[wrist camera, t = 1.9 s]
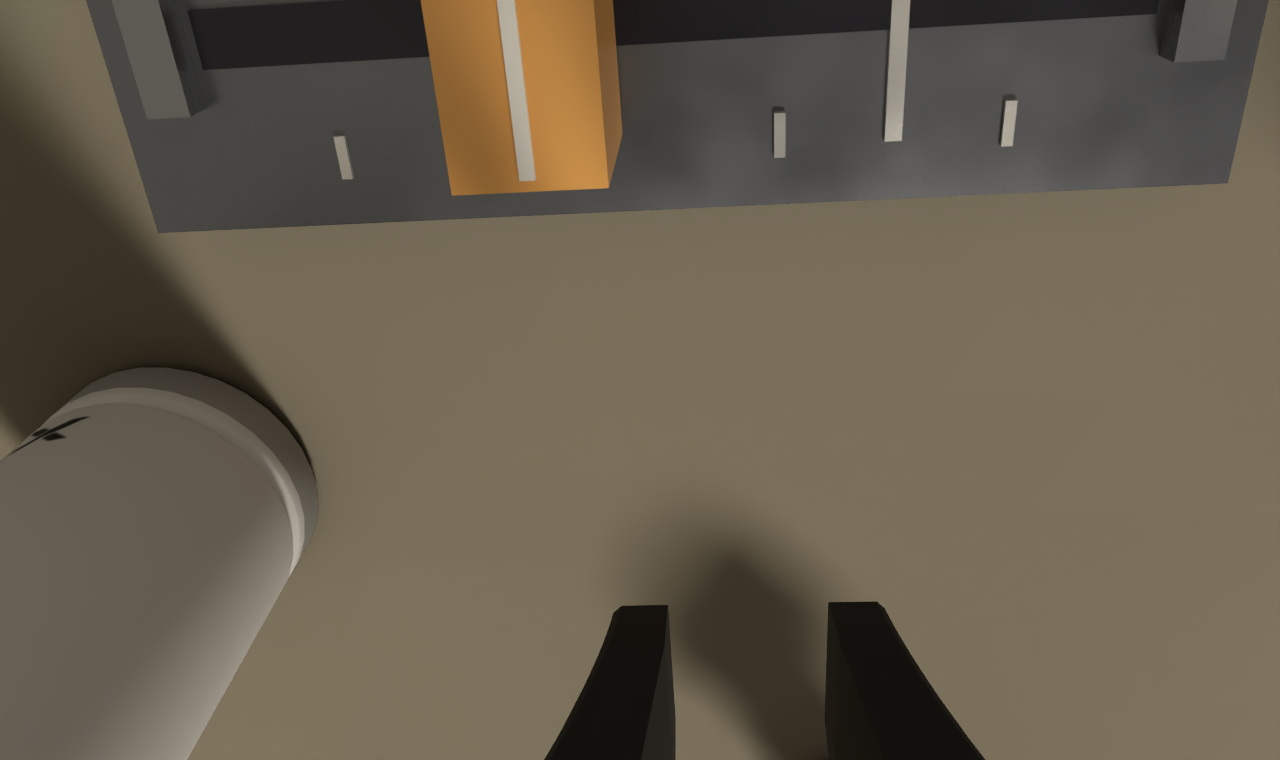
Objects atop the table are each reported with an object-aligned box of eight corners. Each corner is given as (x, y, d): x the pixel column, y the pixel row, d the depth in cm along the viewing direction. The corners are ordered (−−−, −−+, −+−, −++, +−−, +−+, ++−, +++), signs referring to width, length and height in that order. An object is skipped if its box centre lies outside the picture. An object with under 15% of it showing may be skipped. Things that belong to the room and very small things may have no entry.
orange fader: (604, -117, 16) (583, -109, 13) (622, 133, 18) (607, 189, 15) (456, -106, 16) (403, -96, 13) (490, 140, 18) (450, 197, 15)
